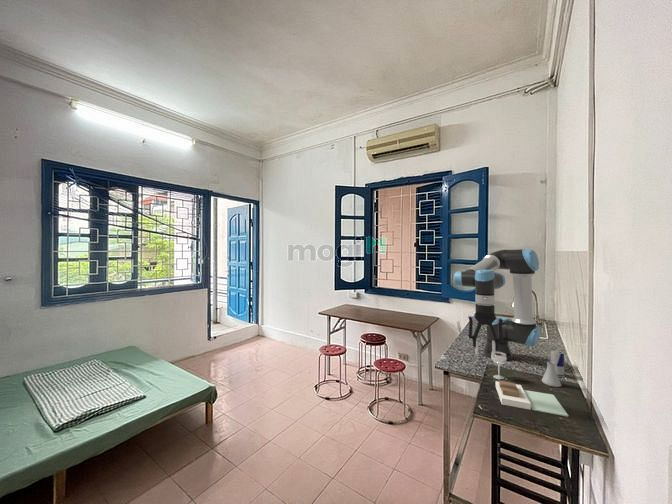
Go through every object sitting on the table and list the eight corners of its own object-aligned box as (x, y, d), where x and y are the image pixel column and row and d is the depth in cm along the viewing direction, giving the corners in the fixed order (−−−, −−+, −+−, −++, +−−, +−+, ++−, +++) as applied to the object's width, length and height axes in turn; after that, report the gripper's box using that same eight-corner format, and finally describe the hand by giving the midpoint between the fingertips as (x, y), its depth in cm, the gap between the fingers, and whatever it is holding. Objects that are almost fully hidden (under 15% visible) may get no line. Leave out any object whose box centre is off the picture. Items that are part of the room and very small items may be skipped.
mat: (522, 390, 121) (522, 389, 121) (553, 395, 117) (553, 394, 117) (532, 410, 106) (532, 408, 106) (568, 416, 102) (568, 415, 102)
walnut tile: (499, 384, 122) (499, 380, 122) (514, 387, 119) (514, 383, 119) (502, 394, 113) (502, 390, 113) (519, 397, 111) (519, 392, 111)
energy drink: (567, 377, 133) (566, 354, 133) (555, 377, 134) (554, 353, 134) (560, 373, 138) (559, 350, 138) (548, 372, 139) (548, 349, 139)
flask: (538, 380, 131) (537, 359, 131) (553, 380, 131) (552, 359, 131) (549, 387, 124) (549, 366, 124) (565, 387, 124) (565, 366, 124)
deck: (495, 386, 125) (495, 381, 125) (520, 390, 121) (520, 385, 121) (501, 404, 111) (501, 398, 111) (530, 409, 107) (530, 403, 107)
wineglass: (488, 375, 137) (487, 351, 137) (498, 373, 138) (498, 350, 138) (499, 381, 130) (498, 356, 130) (510, 379, 132) (510, 355, 132)
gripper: (461, 304, 120) (462, 355, 120) (511, 307, 113) (512, 361, 113) (461, 301, 127) (461, 349, 127) (507, 304, 120) (508, 355, 120)
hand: (485, 355), depth 120 cm, fingers open, 6 cm apart
